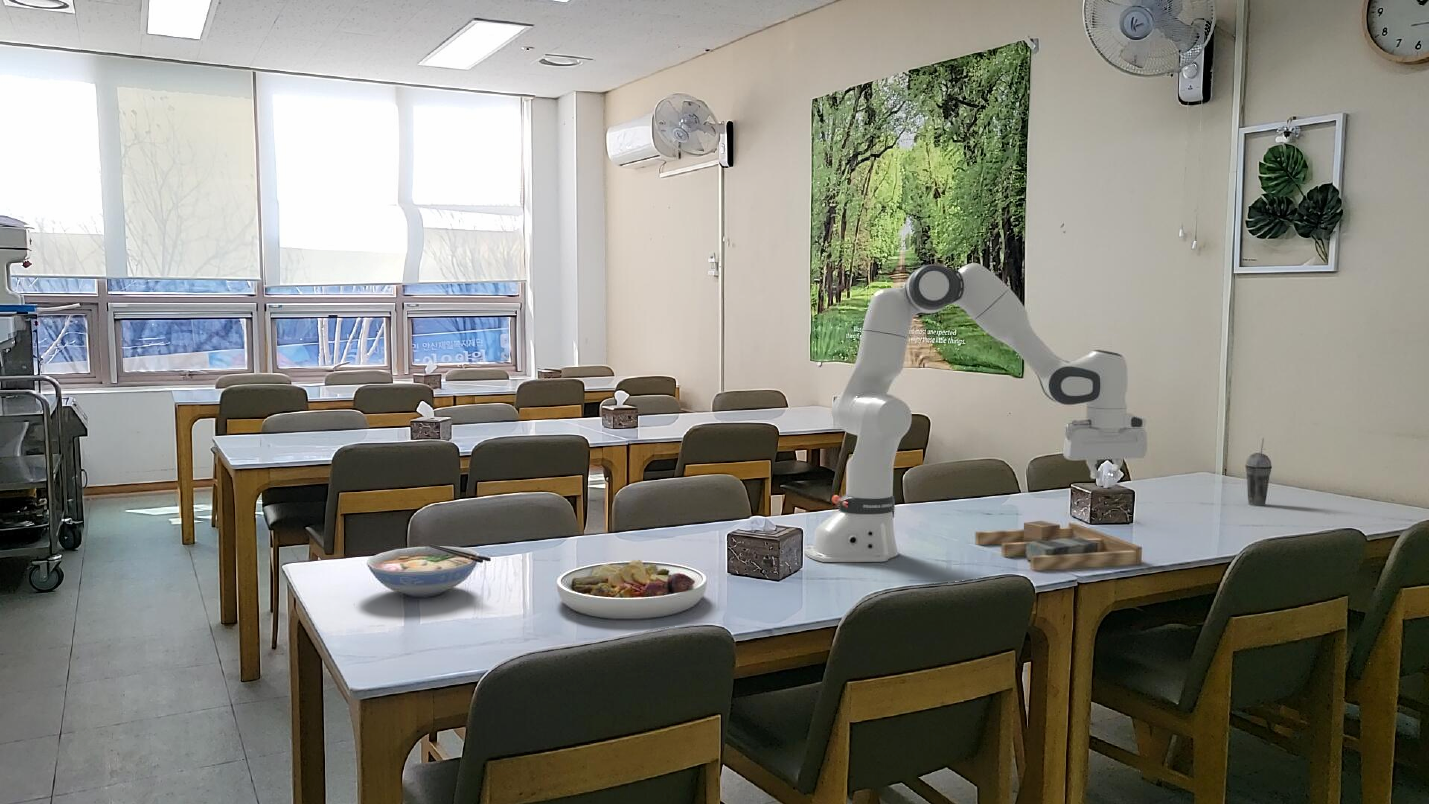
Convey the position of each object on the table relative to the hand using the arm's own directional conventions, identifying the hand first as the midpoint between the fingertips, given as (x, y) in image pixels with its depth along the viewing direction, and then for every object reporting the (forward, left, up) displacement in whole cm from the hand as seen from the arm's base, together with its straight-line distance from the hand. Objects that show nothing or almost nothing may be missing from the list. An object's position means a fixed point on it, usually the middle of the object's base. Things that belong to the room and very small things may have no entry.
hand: (1104, 478), depth 256 cm
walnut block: (-8, +14, -19) cm, 25 cm away
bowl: (-114, -12, -20) cm, 116 cm away
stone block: (-11, -1, -20) cm, 23 cm away
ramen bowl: (-155, +4, -19) cm, 156 cm away
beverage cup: (+85, +51, -19) cm, 101 cm away
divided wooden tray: (-8, +7, -19) cm, 22 cm away
